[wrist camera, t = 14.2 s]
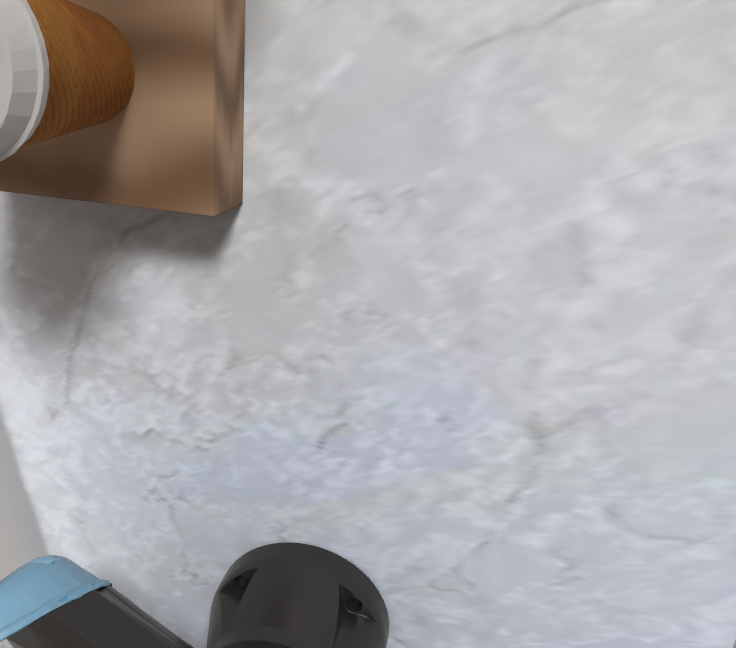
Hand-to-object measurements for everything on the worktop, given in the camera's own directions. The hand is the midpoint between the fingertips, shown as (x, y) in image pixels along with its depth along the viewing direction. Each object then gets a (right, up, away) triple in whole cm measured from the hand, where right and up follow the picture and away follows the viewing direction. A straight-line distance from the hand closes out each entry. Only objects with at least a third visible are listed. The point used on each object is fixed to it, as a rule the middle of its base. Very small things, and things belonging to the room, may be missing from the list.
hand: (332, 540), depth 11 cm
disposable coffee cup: (-16, +19, +27) cm, 37 cm away
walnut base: (-15, +21, +32) cm, 41 cm away
